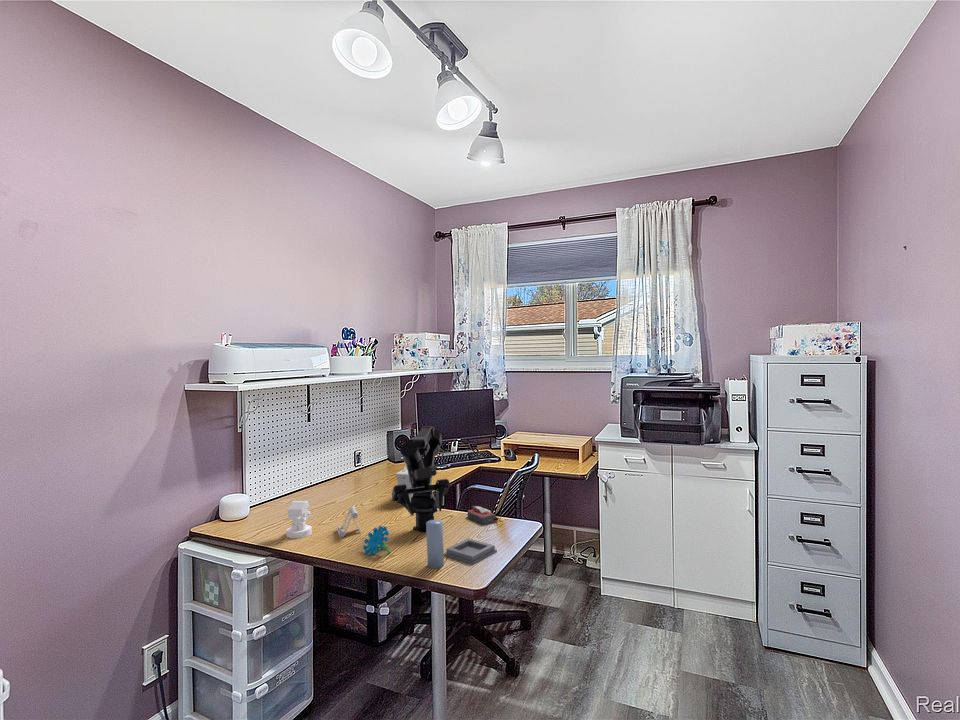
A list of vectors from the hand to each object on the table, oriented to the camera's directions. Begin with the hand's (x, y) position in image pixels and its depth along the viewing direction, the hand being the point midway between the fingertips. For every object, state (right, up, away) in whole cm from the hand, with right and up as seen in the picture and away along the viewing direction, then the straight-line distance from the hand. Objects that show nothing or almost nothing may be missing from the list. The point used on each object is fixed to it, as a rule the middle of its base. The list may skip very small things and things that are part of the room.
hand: (426, 512), depth 156 cm
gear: (-17, -14, +4) cm, 22 cm away
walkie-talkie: (+17, -14, +37) cm, 43 cm away
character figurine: (-49, -15, +23) cm, 56 cm away
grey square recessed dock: (+14, -13, +1) cm, 19 cm away
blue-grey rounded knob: (+4, -13, -7) cm, 16 cm away
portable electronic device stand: (-31, -15, +23) cm, 41 cm away
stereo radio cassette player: (-13, -14, +67) cm, 70 cm away
